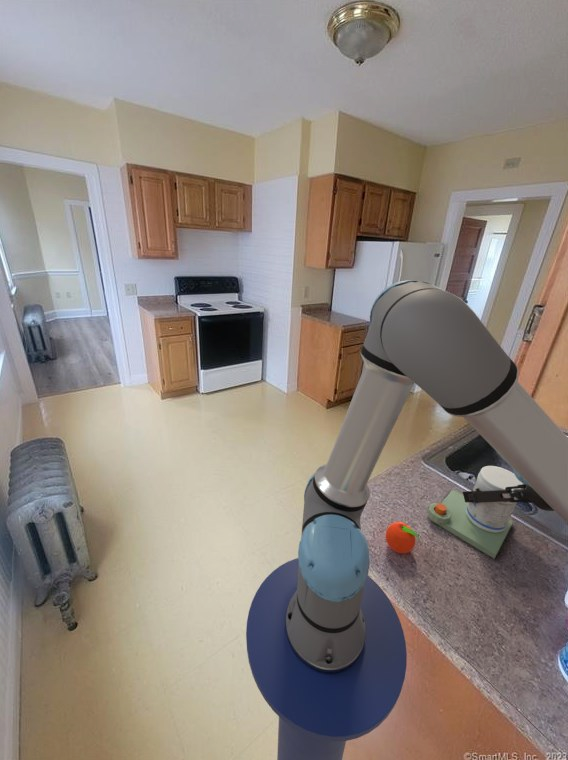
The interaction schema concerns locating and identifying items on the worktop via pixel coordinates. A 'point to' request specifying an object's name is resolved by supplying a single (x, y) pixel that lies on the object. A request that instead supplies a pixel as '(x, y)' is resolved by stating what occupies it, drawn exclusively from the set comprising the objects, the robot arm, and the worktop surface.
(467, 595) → the worktop surface
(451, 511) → the scale
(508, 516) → the supplement tub
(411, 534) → the clementine
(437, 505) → the tare button
